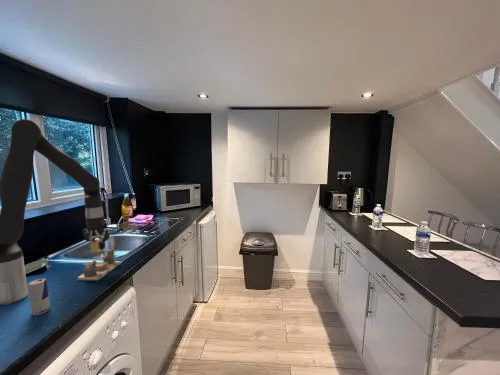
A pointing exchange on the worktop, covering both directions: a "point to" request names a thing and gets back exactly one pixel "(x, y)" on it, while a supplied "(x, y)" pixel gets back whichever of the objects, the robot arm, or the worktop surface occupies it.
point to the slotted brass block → (95, 246)
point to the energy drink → (38, 296)
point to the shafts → (102, 256)
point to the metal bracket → (36, 265)
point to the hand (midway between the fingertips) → (98, 248)
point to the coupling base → (100, 273)
